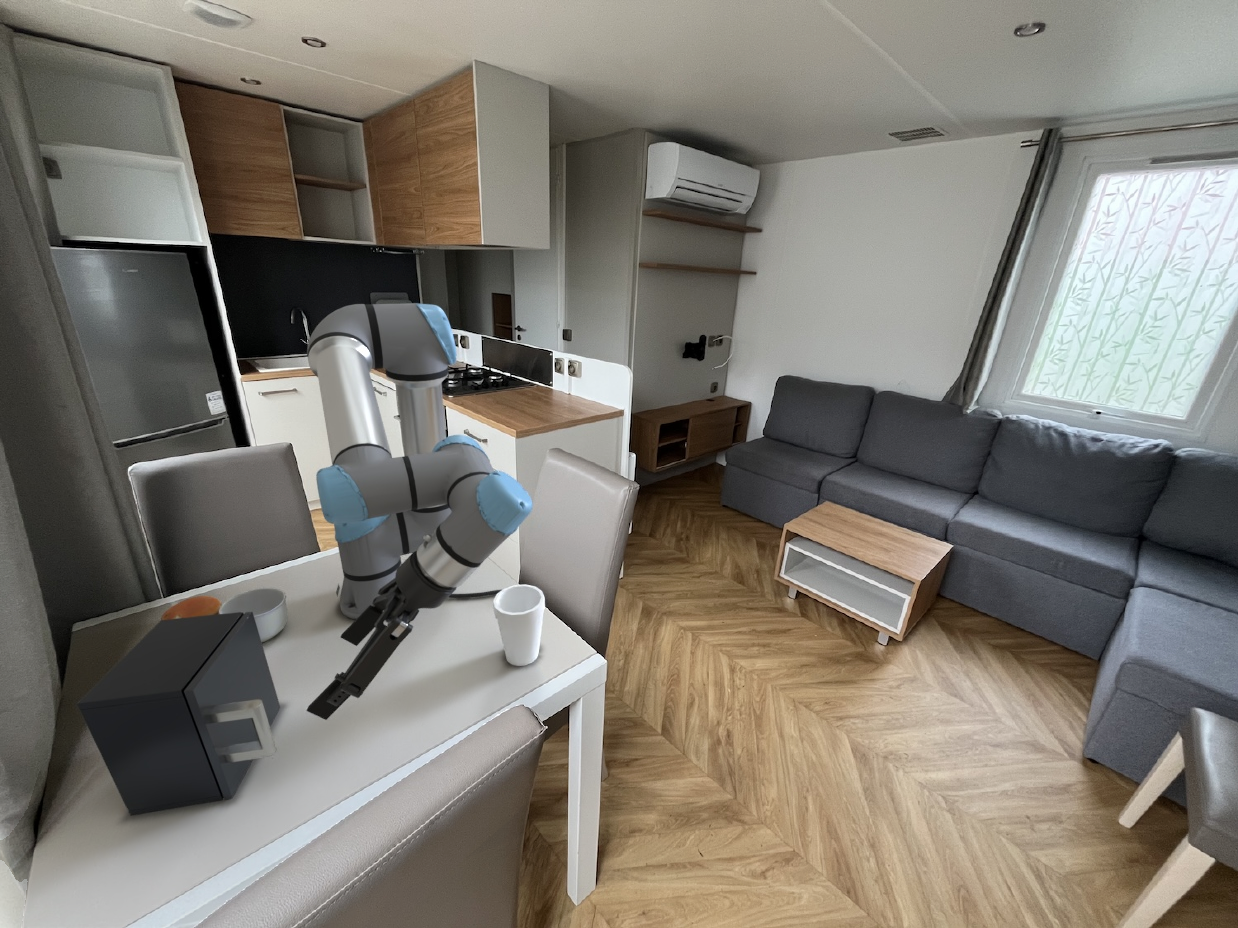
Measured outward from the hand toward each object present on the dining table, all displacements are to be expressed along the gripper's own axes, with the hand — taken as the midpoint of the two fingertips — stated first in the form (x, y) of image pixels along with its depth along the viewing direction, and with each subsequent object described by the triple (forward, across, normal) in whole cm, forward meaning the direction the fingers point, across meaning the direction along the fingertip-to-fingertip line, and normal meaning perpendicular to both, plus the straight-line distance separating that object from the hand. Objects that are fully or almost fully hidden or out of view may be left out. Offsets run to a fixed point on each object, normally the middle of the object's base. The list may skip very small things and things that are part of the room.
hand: (334, 673), depth 68 cm
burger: (+42, -41, -17) cm, 61 cm away
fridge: (+28, -6, -3) cm, 29 cm away
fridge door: (+22, -6, +3) cm, 23 cm away
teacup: (+32, -34, -6) cm, 47 cm away
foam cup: (-5, -20, +31) cm, 37 cm away
